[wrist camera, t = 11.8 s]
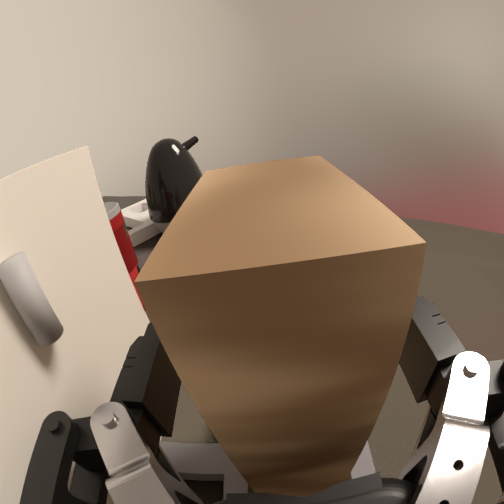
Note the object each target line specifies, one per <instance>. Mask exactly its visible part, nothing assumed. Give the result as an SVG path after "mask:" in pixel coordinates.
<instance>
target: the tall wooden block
mask: <svg viewBox="0 0 504 504" xmlns="http://www.w3.org/2000/svg"><path fill="white" fill-rule="evenodd" d="M425 249H426V242H425V241H424V240H423V239H422V238H421V237H420V236H419V235H418V234H417V233H416V232H414V231H413V230H412V229H411V228H410V227H409V226H408V225H407V224H405V223H404V222H403V221H402V220H401V219H400V218H399V217H397V216H396V215H395V214H394V213H393V212H392V211H390V210H389V209H388V208H387V207H386V206H384V205H383V204H382V203H381V202H380V201H378V200H377V199H376V198H375V197H373V196H372V195H371V194H370V193H368V192H367V191H366V190H365V189H363V188H362V187H361V186H360V185H358V184H357V183H356V182H354V181H353V180H352V179H350V178H349V177H348V176H346V175H345V174H344V173H342V172H341V171H339V170H338V169H337V168H336V167H334V166H333V165H331V164H330V163H328V162H327V161H326V160H324V159H323V158H322V157H320V156H310V157H300V158H292V159H283V160H274V161H267V162H260V163H253V164H246V165H239V166H232V167H226V168H221V169H215V170H209V171H205V173H204V174H203V175H202V177H201V178H200V180H199V181H198V182H197V184H196V185H195V187H194V188H193V190H192V191H191V192H190V194H189V195H188V197H187V198H186V200H185V201H184V203H183V204H182V206H181V207H180V209H179V210H178V212H177V213H176V215H175V216H174V218H173V219H172V221H171V222H170V224H169V226H168V227H167V229H166V230H165V232H164V233H163V235H162V237H161V238H160V240H159V241H158V243H157V245H156V246H155V248H154V249H153V251H152V253H151V254H150V256H149V258H148V259H147V261H146V263H145V264H144V266H143V268H142V269H141V271H140V273H139V274H138V276H137V278H136V280H135V281H134V283H135V285H136V288H137V290H138V293H139V295H140V297H141V300H142V302H143V304H144V307H145V309H146V311H147V313H148V316H149V318H150V320H151V322H152V324H153V326H154V329H155V331H156V333H157V335H158V337H159V339H160V341H161V343H162V345H163V347H164V349H165V351H166V353H167V355H168V357H169V359H170V361H171V363H172V365H173V367H174V369H175V370H176V372H177V374H178V376H179V378H180V380H181V381H182V383H183V385H184V387H185V389H186V390H187V392H188V394H189V396H190V397H191V399H192V401H193V403H194V404H195V406H196V408H197V409H198V411H199V413H200V414H201V416H202V418H203V419H204V421H205V422H206V424H207V426H208V427H209V429H210V430H211V432H212V433H213V435H214V436H215V438H216V439H217V441H218V442H219V444H220V445H221V447H222V448H223V450H224V451H225V453H226V454H227V456H228V457H229V459H230V460H231V461H232V463H233V464H234V466H235V467H236V468H237V470H238V471H239V472H240V474H241V475H242V476H243V478H244V479H245V480H246V482H247V483H248V484H249V486H250V487H251V488H252V490H253V491H254V492H255V493H261V492H265V493H272V494H280V495H289V496H299V497H304V496H309V495H312V494H314V493H317V492H319V491H322V490H324V489H327V488H329V487H331V486H334V485H336V484H338V483H340V482H343V481H346V480H347V478H348V476H349V475H350V473H351V471H352V469H353V468H354V466H355V464H356V462H357V460H358V458H359V456H360V454H361V452H362V450H363V448H364V446H365V444H366V442H367V440H368V438H369V436H370V434H371V432H372V430H373V427H374V425H375V423H376V421H377V418H378V416H379V414H380V411H381V409H382V406H383V404H384V402H385V399H386V396H387V394H388V391H389V389H390V386H391V383H392V380H393V378H394V375H395V372H396V369H397V366H398V363H399V360H400V357H401V354H402V351H403V347H404V344H405V341H406V337H407V334H408V330H409V326H410V322H411V319H412V315H413V311H414V306H415V302H416V298H417V293H418V288H419V283H420V278H421V273H422V267H423V262H424V255H425Z"/></svg>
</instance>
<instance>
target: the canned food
mask: <svg viewBox="0 0 504 504" xmlns="http://www.w3.org/2000/svg"><path fill="white" fill-rule="evenodd" d="M104 206H105V209H106V213H107V216H108V219H109V222H110V225H111V228H112V231H113V233H114V236H115V239H116V242H117V245H118V247H119V250H120V253H121V255H122V258H123V261H124V263H125V266H126V268H127V271H128V273H129V276H130V278H131V281H132V283H133V286H134V288H135V290H136V293H137V295H138V297H139V300H140V302H141V304H142V306H143V309H144V311H145V310H146V309H145V307H144V304H143V302H142V300H141V297H140V295H139V293H138V290H137V288H136V285H135V283H134V281H135V280H136V278H137V276H138V274H139V273H140V271H141V268H140V265H139V262H138V259H137V256H136V254H135V251H134V248H133V245H132V242H131V239H130V236H129V233H128V230H127V227H126V224H125V221H124V218H123V215H122V212H121V209H120V207H119V204H118V203H117V202H107V203H104Z"/></svg>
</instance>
